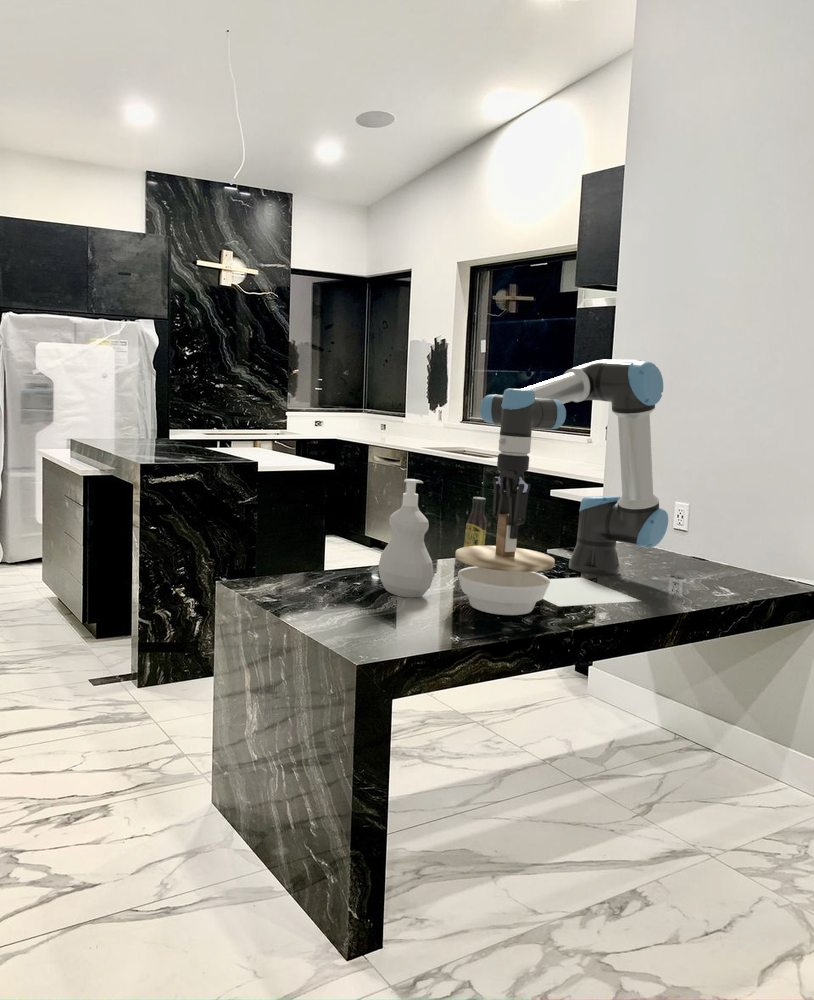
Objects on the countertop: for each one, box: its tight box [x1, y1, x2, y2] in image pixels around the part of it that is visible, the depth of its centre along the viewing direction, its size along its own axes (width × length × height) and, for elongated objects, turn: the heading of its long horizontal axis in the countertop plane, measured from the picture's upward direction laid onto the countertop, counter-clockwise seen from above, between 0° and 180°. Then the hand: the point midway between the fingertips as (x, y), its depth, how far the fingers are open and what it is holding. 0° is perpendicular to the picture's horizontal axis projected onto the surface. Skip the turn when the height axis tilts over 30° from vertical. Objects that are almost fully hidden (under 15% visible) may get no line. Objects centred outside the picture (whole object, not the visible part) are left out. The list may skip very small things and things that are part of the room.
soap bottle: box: [378, 478, 435, 598], centre depth 218 cm, size 17×12×29 cm
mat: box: [542, 577, 641, 608], centre depth 232 cm, size 26×26×1 cm
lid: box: [455, 513, 556, 573], centre depth 209 cm, size 24×24×11 cm
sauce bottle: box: [463, 496, 488, 547], centre depth 263 cm, size 7×6×20 cm
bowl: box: [457, 566, 550, 616], centre depth 211 cm, size 22×22×8 cm
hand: (505, 549), depth 209 cm, fingers closed on lid, 3 cm apart
